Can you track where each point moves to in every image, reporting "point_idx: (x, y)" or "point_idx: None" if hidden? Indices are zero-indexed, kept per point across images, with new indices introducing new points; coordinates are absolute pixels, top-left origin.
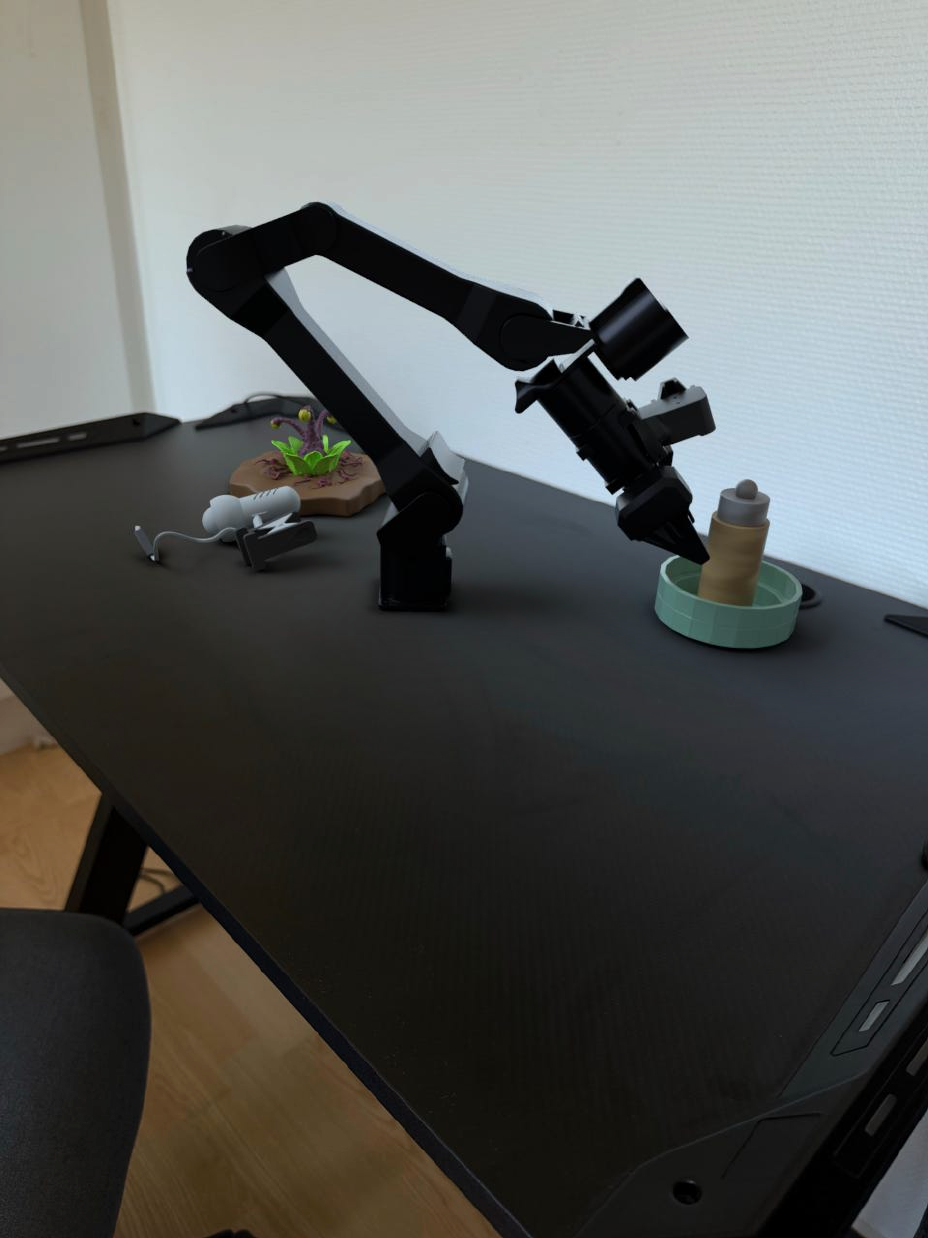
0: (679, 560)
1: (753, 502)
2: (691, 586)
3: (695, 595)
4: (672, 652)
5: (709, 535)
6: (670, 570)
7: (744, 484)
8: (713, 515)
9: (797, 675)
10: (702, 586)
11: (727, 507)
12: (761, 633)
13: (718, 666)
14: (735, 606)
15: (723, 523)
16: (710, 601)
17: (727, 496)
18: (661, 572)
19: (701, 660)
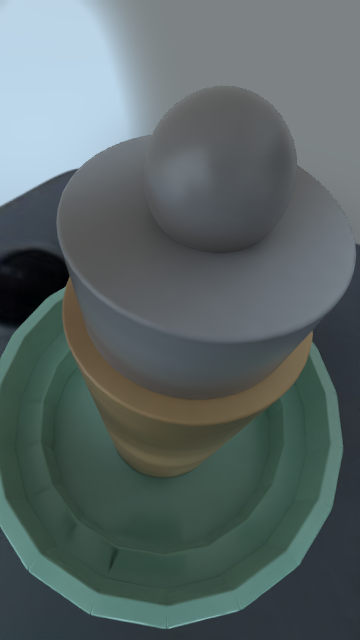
0: (27, 524)
1: (317, 201)
2: (55, 473)
3: (68, 462)
4: (334, 553)
5: (198, 444)
6: (63, 557)
7: (280, 147)
8: (180, 414)
9: (322, 338)
10: (192, 466)
11: (304, 338)
12: None
13: (348, 457)
14: (333, 406)
15: (287, 383)
16: (332, 466)
17: (275, 306)
18: (167, 623)
19: (340, 488)
